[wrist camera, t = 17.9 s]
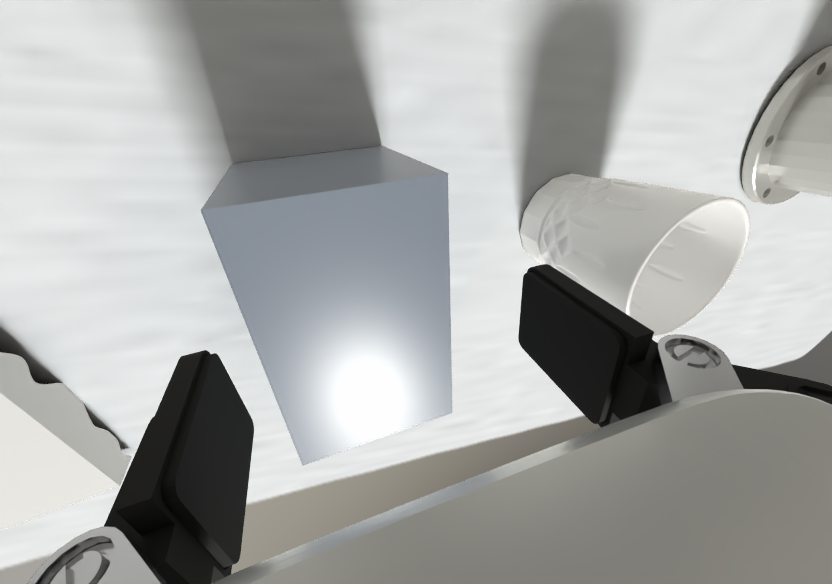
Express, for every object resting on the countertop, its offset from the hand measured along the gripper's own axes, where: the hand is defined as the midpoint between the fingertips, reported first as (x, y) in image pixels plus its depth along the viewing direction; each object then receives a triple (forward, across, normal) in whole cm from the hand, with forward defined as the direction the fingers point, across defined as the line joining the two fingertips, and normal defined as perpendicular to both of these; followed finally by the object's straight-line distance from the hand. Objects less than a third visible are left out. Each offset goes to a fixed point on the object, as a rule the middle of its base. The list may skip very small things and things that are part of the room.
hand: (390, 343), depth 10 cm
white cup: (+13, -16, +3) cm, 20 cm away
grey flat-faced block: (+12, +1, +2) cm, 12 cm away
